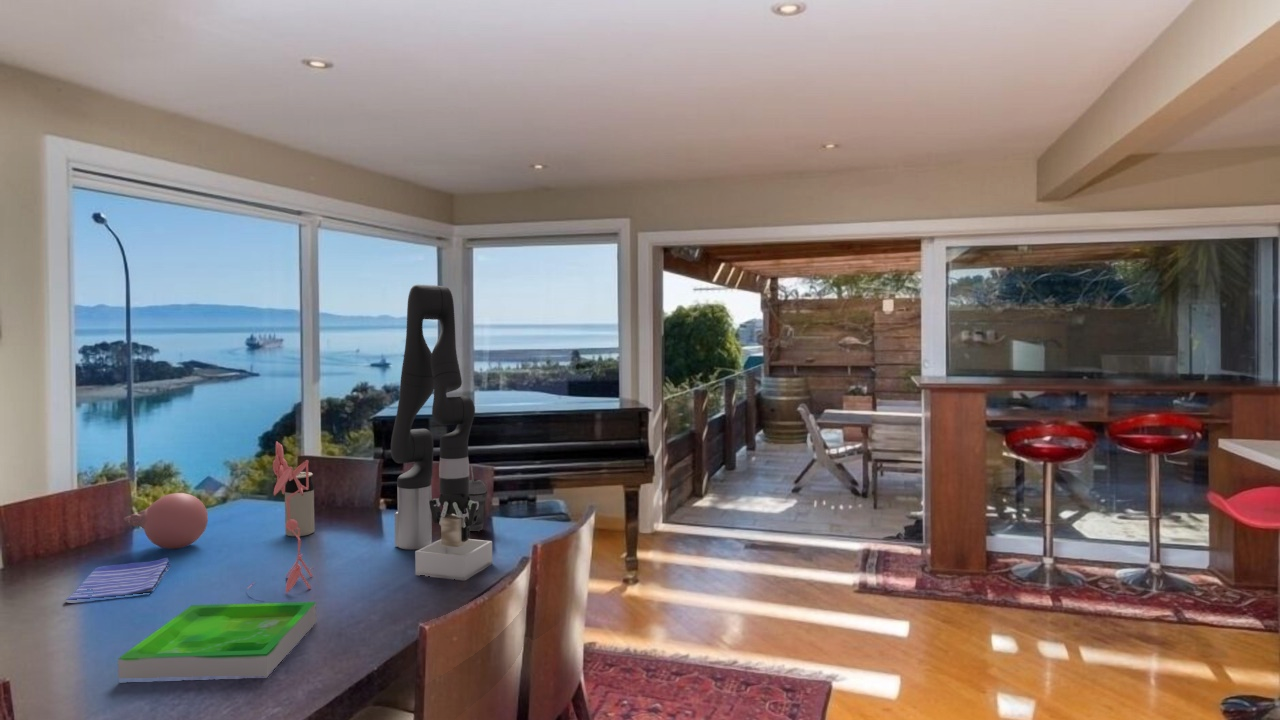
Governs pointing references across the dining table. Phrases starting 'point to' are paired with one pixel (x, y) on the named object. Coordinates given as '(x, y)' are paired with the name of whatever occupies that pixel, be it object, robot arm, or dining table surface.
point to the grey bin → (453, 559)
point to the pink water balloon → (172, 520)
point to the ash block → (451, 531)
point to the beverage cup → (477, 494)
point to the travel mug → (300, 505)
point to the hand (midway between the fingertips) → (455, 539)
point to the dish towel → (122, 579)
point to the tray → (220, 641)
